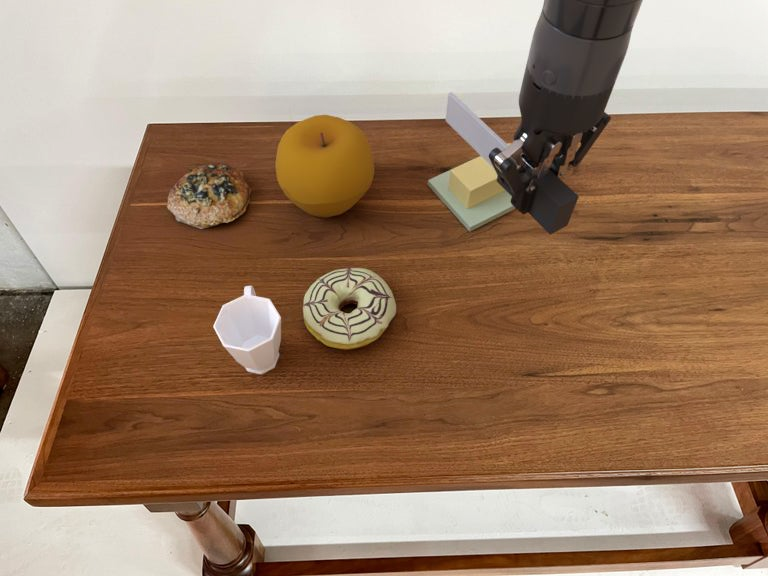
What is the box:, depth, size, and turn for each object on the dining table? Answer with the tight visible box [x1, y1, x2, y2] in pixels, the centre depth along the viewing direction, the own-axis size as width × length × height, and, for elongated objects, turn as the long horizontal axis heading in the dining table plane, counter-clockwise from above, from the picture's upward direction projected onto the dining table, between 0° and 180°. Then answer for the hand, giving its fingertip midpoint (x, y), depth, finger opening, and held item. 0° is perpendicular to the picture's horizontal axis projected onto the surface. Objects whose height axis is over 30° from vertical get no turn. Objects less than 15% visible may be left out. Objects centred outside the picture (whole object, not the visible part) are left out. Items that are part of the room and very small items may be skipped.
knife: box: [445, 91, 580, 235], centre depth 65 cm, size 2×20×4 cm, turn 32°
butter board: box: [427, 155, 517, 232], centre depth 84 cm, size 10×14×1 cm
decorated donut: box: [302, 267, 397, 350], centre depth 71 cm, size 10×11×4 cm
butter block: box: [448, 155, 505, 209], centre depth 81 cm, size 4×7×4 cm, turn 122°
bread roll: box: [166, 162, 252, 230], centre depth 81 cm, size 11×11×5 cm
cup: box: [212, 284, 282, 375], centre depth 67 cm, size 7×10×8 cm
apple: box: [274, 114, 375, 219], centre depth 78 cm, size 13×13×11 cm
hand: (531, 202), depth 64 cm, fingers closed on knife, 2 cm apart
